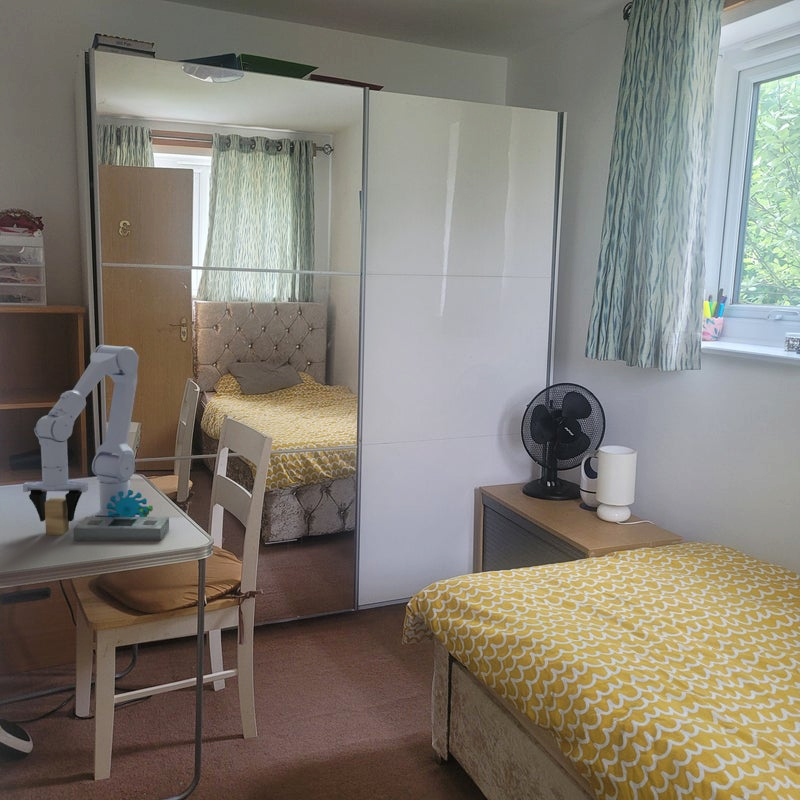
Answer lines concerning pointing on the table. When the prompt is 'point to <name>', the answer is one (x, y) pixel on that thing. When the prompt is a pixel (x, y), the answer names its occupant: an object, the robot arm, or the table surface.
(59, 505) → the peg
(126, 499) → the gear
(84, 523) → the grey holed base
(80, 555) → the table surface
